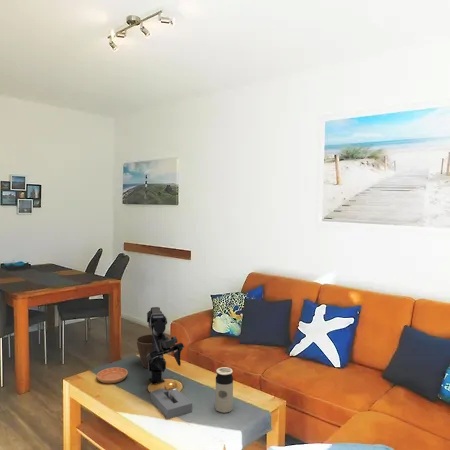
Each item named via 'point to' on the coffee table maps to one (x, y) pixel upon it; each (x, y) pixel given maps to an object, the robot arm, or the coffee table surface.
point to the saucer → (112, 375)
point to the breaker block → (170, 403)
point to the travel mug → (224, 390)
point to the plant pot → (144, 348)
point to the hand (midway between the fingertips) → (171, 368)
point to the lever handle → (170, 389)
